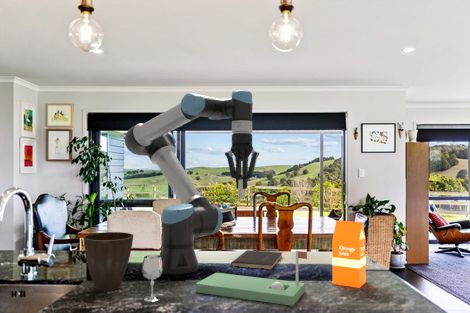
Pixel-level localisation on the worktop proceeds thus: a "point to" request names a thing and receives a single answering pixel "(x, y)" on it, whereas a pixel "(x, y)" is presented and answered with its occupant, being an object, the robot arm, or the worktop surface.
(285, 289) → the putting deck
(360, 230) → the orange juice
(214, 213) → the robot arm
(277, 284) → the ball
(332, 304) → the worktop surface
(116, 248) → the plant pot
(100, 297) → the worktop surface
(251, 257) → the hardcover book
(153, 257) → the wineglass
